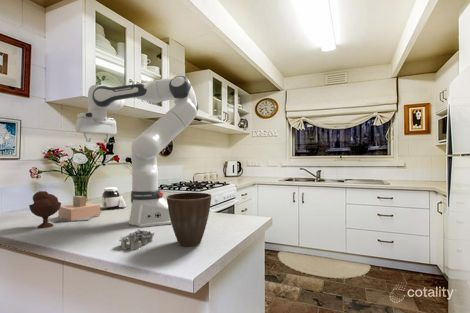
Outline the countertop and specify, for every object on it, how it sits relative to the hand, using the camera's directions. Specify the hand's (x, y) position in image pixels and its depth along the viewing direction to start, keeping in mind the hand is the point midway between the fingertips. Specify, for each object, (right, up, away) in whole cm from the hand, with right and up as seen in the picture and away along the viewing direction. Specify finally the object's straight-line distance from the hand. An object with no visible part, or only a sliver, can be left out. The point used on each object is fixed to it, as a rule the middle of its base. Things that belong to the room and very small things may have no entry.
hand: (97, 142), depth 135 cm
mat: (-3, -37, -11) cm, 39 cm away
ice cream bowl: (-7, -37, -28) cm, 47 cm away
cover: (-3, -37, -11) cm, 38 cm away
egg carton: (+40, -37, -50) cm, 74 cm away
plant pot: (+58, -37, -49) cm, 84 cm away
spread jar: (+4, -37, +11) cm, 39 cm away
